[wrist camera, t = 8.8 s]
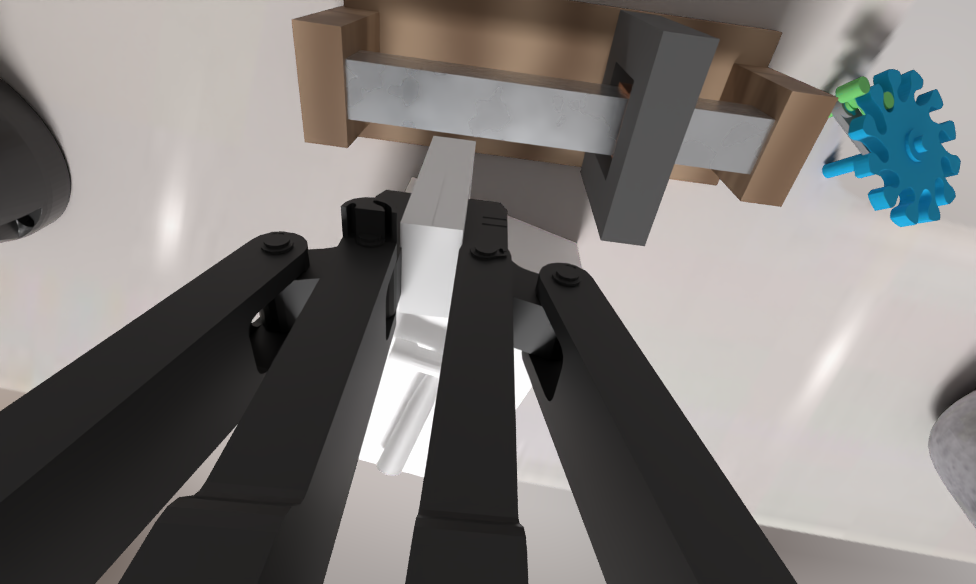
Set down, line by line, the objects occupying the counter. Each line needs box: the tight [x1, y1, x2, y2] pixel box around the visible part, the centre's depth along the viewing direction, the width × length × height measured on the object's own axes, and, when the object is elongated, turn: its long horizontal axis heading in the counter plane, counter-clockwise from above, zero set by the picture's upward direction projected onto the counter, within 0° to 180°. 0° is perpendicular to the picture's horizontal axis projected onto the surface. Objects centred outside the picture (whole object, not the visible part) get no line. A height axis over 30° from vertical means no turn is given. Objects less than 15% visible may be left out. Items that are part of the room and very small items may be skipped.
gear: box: [822, 69, 961, 227], centre depth 31 cm, size 11×6×10 cm
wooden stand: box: [292, 0, 839, 207], centre depth 28 cm, size 27×10×9 cm, turn 83°
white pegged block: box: [358, 177, 582, 477], centre depth 40 cm, size 14×25×11 cm, turn 158°
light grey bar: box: [345, 50, 775, 174], centre depth 26 cm, size 25×3×3 cm, turn 83°
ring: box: [580, 10, 720, 246], centre depth 26 cm, size 2×10×10 cm, turn 173°
